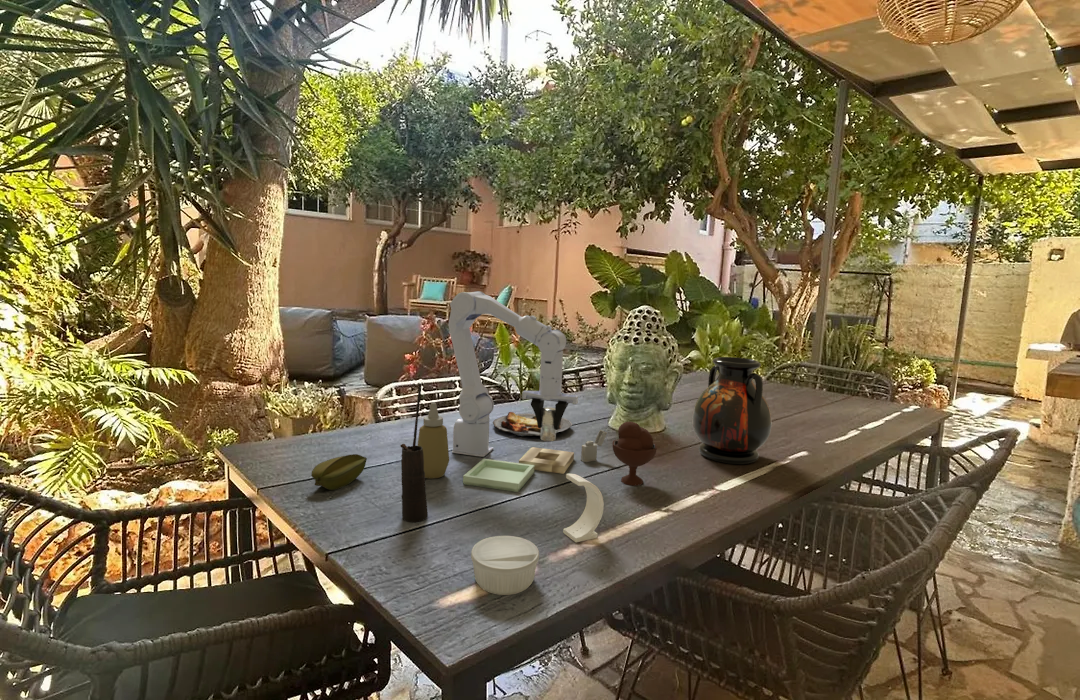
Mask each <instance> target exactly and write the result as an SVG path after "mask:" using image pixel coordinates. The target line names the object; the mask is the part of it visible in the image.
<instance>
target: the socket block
mask: <svg viewBox="0 0 1080 700" xmlns="http://www.w3.org/2000/svg"><path fill="white" fill-rule="evenodd" d="M574 460H575V452H574V451H573V452H572V451H566V450H558V449H549V448H541V447H532V446H531V447H530V448H529V449H528V450H527V451H526V452H525V453H524V454H523V456H521V458H520V459H519V460H518V463H521V464H529V465H534V471H540V472H547V473H555V474H556V473H557V474H561V475H562V474H563V475H565V473H566V471H568V469H569V468H570V466H571V464H572V463H573V461H574Z"/></svg>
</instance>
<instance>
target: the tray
mask: <svg viewBox="0 0 1080 700" xmlns="http://www.w3.org/2000/svg"><path fill="white" fill-rule="evenodd" d="M534 474H535V470H534V465H529V464H521V463H519V462H512V461H505V460H498V459H490V458H489V459H488V458H482V459H481V460H480V461H479V462H477V464H475V465H474V466H473V467H472V468H471V469H469V470H468V471H467V472H466V473H465V474H463V475H462V485H467V486H475V487H480V488H481V487H482V488H489V489H494V490H495V489H496V490H501V491H509V492H515V493H519V492H520V491H521V489H523V487H524V486H525V485H526V483H527V482H528V481H529V480H530V478H532V476H533V475H534Z"/></svg>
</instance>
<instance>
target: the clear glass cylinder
mask: <svg viewBox="0 0 1080 700" xmlns="http://www.w3.org/2000/svg"><path fill="white" fill-rule="evenodd" d="M555 420H556V409H555V407H543V408H542V415H541V435H540V436H539V437H540V440H541V441H543V442H553V441H556V438H557V433H556V430H555Z"/></svg>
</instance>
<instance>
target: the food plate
mask: <svg viewBox="0 0 1080 700" xmlns="http://www.w3.org/2000/svg"><path fill="white" fill-rule="evenodd" d="M492 424H493V427H494V428H496V429H497V430H501V431H502V432H508V433H511V434H514V435H517V436H521V437H527V436H528V437H532V436H533V437H534V436H536V437H537V436H538V437H540V436H541V428H538V425H537V419H536V416H535V413H515V412H514V411H509V412H508V413H507V414H506V415H502V416H500V417H498V418H496V419H494V420H493V421H492ZM572 425H573V423H572V422H571V420H569V419H567V418H565V417H562V419H561V422H560V426H559V429H558V430H556V434H557V433H559V432H564V431H566V430H568V429H569V428H571V427H572Z"/></svg>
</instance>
